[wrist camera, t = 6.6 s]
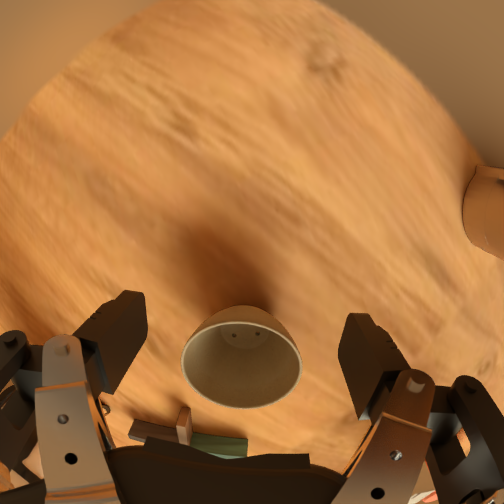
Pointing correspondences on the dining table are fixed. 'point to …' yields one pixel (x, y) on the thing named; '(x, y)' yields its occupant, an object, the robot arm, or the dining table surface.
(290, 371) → the bowl
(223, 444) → the t-shaped slab assembly
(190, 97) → the dining table surface
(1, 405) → the coffee press
